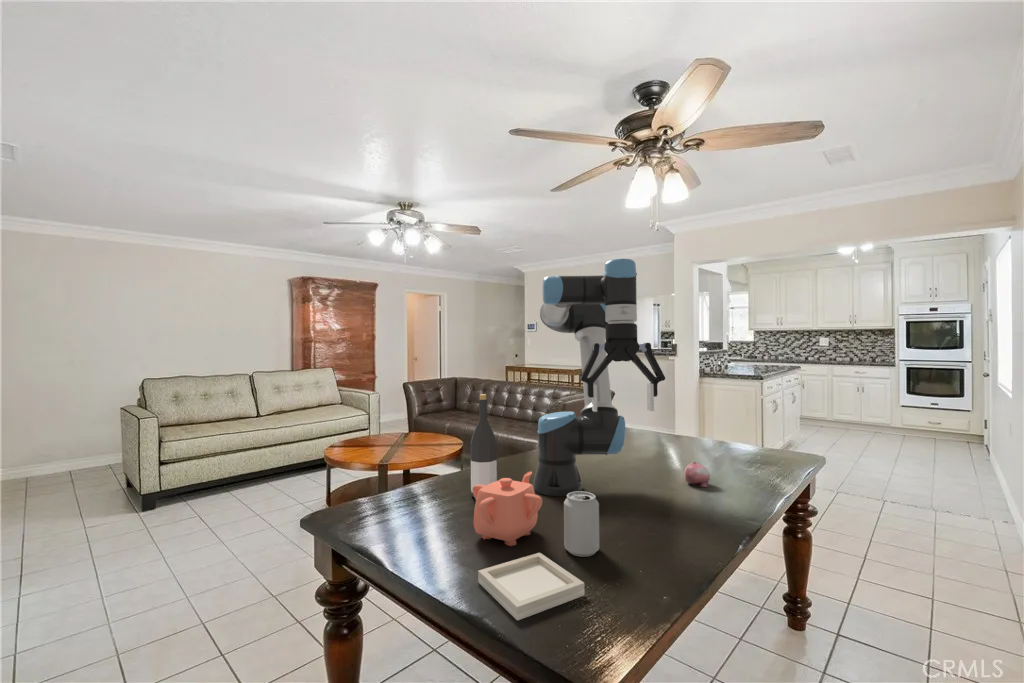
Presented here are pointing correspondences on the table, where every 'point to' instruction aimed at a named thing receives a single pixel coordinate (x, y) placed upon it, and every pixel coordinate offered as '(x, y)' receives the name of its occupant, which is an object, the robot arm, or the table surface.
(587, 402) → the robot arm
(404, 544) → the table surface
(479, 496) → the pink kettle
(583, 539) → the can
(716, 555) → the table surface
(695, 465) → the pomegranate
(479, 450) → the wine bottle
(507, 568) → the coaster
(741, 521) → the table surface
